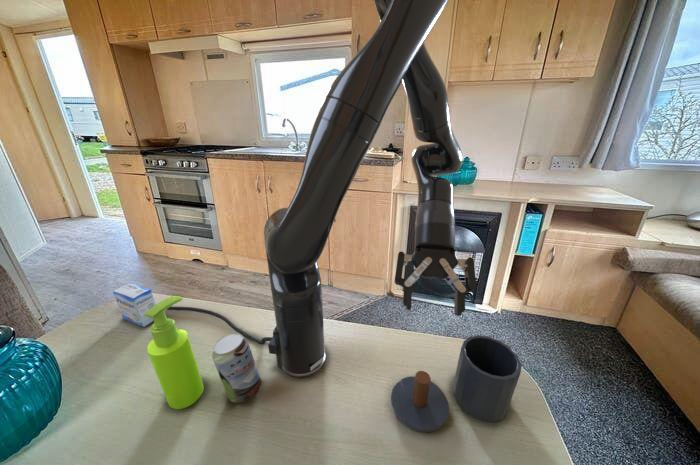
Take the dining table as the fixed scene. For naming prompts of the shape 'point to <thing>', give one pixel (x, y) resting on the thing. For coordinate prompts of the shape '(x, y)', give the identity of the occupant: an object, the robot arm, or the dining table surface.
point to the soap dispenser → (173, 358)
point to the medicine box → (135, 303)
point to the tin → (486, 378)
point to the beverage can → (236, 367)
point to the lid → (419, 403)
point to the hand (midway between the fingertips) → (433, 312)
